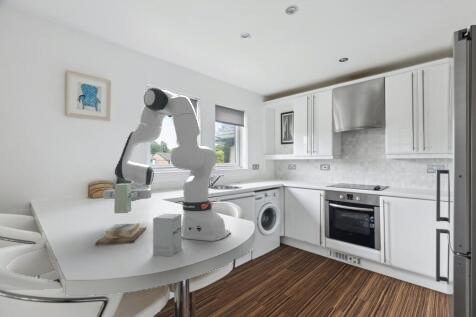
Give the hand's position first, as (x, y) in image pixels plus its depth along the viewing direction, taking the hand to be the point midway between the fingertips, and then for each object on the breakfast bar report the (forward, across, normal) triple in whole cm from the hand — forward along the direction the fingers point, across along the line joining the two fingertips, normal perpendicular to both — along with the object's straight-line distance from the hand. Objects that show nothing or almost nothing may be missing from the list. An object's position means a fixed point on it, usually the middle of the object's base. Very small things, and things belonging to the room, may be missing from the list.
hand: (122, 195), depth 95 cm
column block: (-1, 0, +7) cm, 7 cm away
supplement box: (+20, +22, +18) cm, 35 cm away
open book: (-1, 0, +18) cm, 18 cm away
